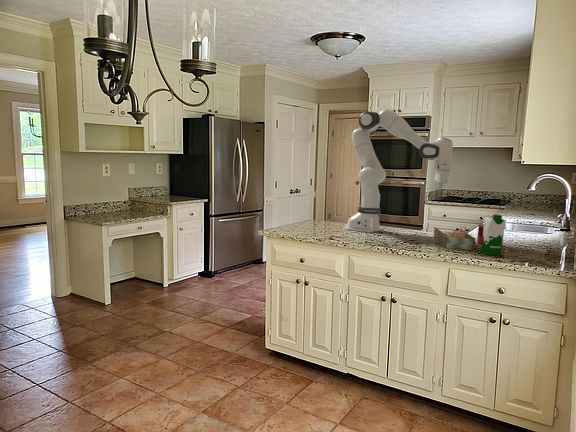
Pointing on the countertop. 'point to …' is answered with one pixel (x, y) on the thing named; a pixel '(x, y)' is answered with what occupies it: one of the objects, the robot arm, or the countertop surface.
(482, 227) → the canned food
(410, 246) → the countertop surface
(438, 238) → the trap box
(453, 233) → the block
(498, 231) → the milk carton
